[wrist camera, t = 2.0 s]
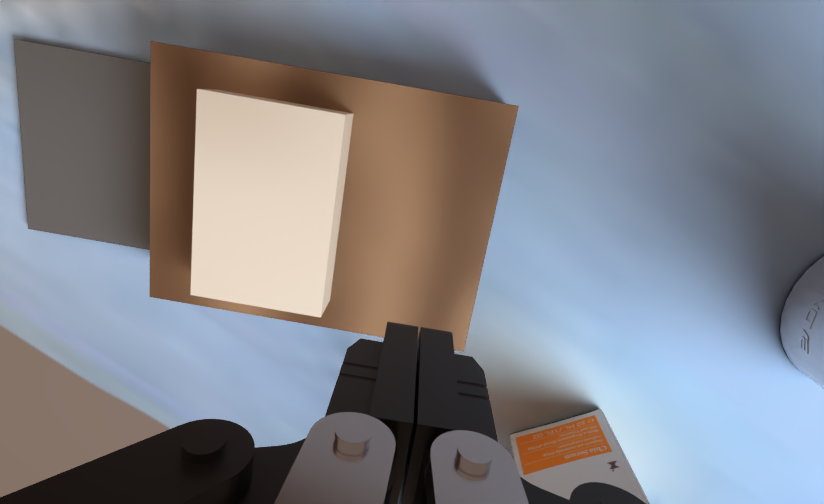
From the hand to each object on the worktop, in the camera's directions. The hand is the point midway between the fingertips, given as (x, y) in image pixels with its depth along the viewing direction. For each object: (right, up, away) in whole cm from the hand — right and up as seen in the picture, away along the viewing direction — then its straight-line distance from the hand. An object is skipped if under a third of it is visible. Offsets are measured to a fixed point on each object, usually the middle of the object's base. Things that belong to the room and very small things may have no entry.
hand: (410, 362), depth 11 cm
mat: (-17, +8, +15) cm, 24 cm away
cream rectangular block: (-6, +5, +11) cm, 14 cm away
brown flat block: (-4, +6, +15) cm, 17 cm away
